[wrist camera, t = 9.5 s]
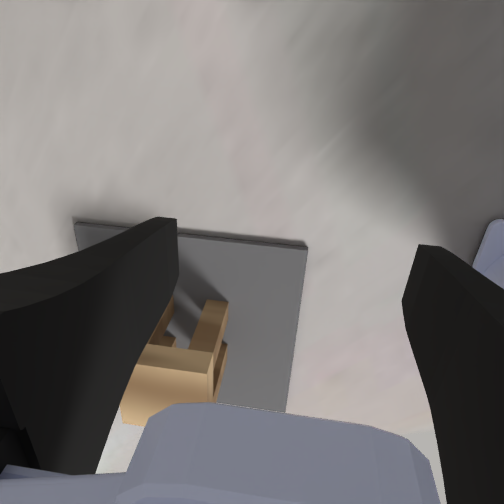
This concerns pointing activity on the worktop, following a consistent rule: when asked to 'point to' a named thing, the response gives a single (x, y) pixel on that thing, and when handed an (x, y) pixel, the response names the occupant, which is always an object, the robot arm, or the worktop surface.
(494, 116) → the worktop surface
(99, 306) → the robot arm
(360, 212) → the worktop surface
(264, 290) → the mat
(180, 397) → the tan notched block
